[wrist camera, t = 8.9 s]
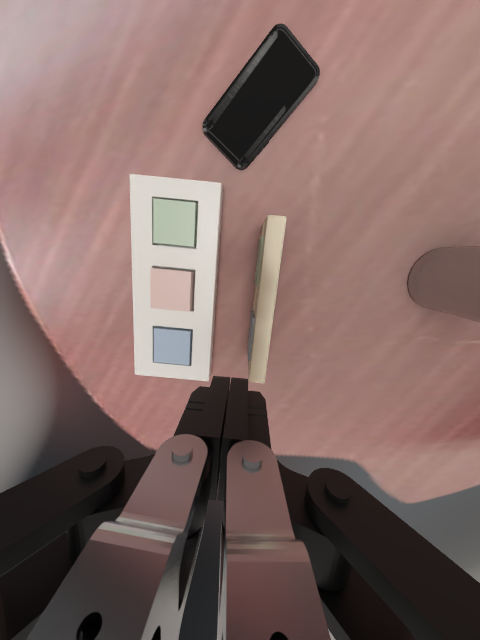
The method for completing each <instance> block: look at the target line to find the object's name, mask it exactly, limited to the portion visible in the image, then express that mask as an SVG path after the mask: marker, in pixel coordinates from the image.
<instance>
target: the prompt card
mask: <svg viewBox="0 0 480 640" xmlns="http://www.w3.org/2000/svg"><path fill="white" fill-rule="evenodd" d="M286 218H287V217H285V216H275V215H268V216H267V218H266V219H265V221H264V223H263V225H262V227H261V235H260V239H259V245H258V254H257V263H256V273H255V282H254V283H255V290H254V299H253V308H252V310H251V319H250V328H249V338H248V347H247V349H248V370H249V382H254V383H265V375H266V368H267V360H268V353H269V345H270V338H271V330H272V323H273V315H274V308H275V300H276V293H277V285H278V278H279V270H280V263H281V255H282V248H283V240H284V233H285V225H286Z"/></svg>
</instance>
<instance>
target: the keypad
mask: <svg viewBox="0 0 480 640" xmlns="http://www.w3.org/2000/svg"><path fill="white" fill-rule="evenodd" d="M153 198H154V199H164V200H175V201H185V202H195V203H196V204H197V205H198V222H197V246H196V247H187V246H177V245H166V244H158V243H153ZM222 202H223V187H222V183H217V182H207V181H196V180H186V179H176V178H166V177H156V176H146V175H135V174H130V205H131V243H132V282H133V321H134V359H135V375H146V376H156V377H167V378H178V379H189V380H200V381H209V378H210V375H211V366H212V351H213V336H214V322H215V307H216V292H217V277H218V262H219V247H220V232H221V217H222ZM157 267H158V268H169V269H179V270H190V271H195V283H194V307H193V309H192V310H191V311H190V312H188V311H177V310H167V309H156V308H151V299H150V268H157ZM156 326H163V327H173V328H184V329H193V340H192V361H191V363H190V364H189V365H182V364H171V363H160V362H154V328H155V327H156Z"/></svg>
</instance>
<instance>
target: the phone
mask: <svg viewBox="0 0 480 640" xmlns="http://www.w3.org/2000/svg"><path fill="white" fill-rule="evenodd" d="M319 75H320V70H319V67H318V65H317V64H316V63H315V61H314V60H313V59H312V58H311V56H310V55H309V54H308V53H307V51H306V50H305V49H304V48H303V46H302V45H301V44H300V43H299V41H298V40H297V39H296V38H295V36H294V35H293V34H292V33H291V31H290V30H289V29H288V28H287V26H285V25H284V24H277V25H275V26H274V27H273V28H272V30H271V31H270V32H269V34H268V35H267V36H266V38H265V39H264V40H263V42H262V43H261V45H260V46H259V47H258V49H257V50H256V51H255V53H254V54H253V55H252V57H251V58H250V59H249V61H248V62H247V63H246V65H245V66H244V67H243V69H242V70H241V71H240V73H239V74H238V75H237V77H236V78H235V79H234V81H233V82H232V83H231V85H230V86H229V87H228V89H227V90H226V91H225V93H224V94H223V95H222V97H221V98H220V100H219V101H218V102H217V104H216V105H215V106H214V108H213V109H212V110H211V112H210V113H209V114H208V116H207V117H206V118H205V120H204V122H203V131H204V134H205V135H206V137H207V138H208V139H209V140H210V141H211V142H212V143H213V144H214V145H215V146H216V147H217V148H218V149H219V151H220V152H221V153H222V154H223V155H224V156H225V157H226V158H227V159H228V160H229V161H230V162H231V163H232V164H233V165H234V166H235V167H236V168H237V169H239V170H244V169H246V168H247V167H248V166H249V164H250V163H251V162H252V161H253V160H254V159H255V157H256V156H257V155H258V154H259V153H260V152H261V151H262V149H263V148H264V147H265V146H266V145H267V144H268V141H269V140H270V139H271V138H272V137H273V135H274V134H275V133H276V132H277V131H278V129H279V128H280V127H281V126H282V125H283V123H284V122H285V121H286V120H287V118H288V117H289V116H290V115H291V114H292V112H293V111H294V110H295V109H296V108H297V106H298V105H299V104H300V103H301V102H302V100H303V99H304V98H305V97H306V95H307V94H308V93H309V92H310V91H311V89H312V88H313V87H314V86H315V84H316V83H317V80H318V78H319Z"/></svg>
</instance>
